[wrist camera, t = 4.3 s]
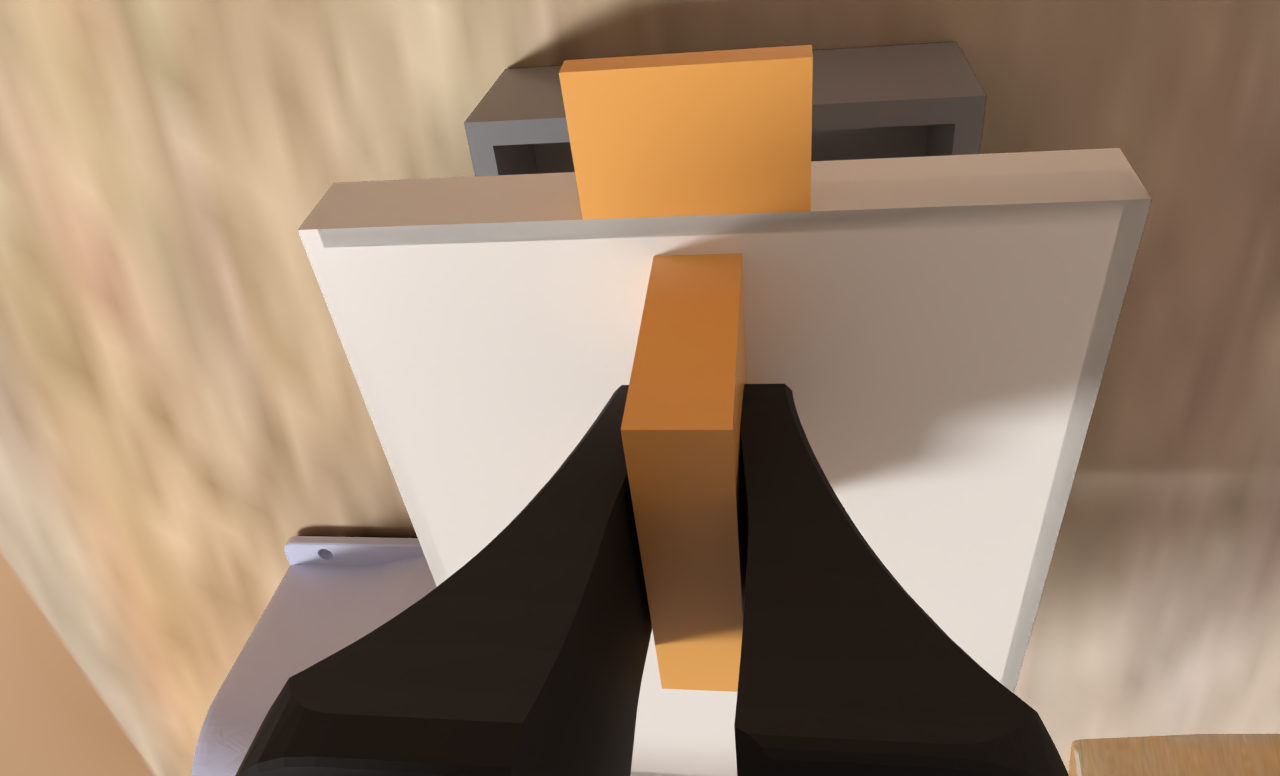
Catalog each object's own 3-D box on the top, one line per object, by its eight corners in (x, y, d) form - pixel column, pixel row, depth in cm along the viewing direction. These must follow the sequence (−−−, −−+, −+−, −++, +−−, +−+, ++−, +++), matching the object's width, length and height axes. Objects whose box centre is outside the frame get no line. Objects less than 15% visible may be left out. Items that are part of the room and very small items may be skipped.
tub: (583, 513, 29) (563, 597, 26) (505, 69, 21) (463, 122, 18) (907, 518, 28) (922, 608, 25) (956, 41, 20) (986, 95, 17)
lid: (520, 718, 24) (473, 925, 20) (288, 52, 13) (87, 235, 9) (974, 740, 22) (1014, 971, 18) (1157, -8, 11) (1351, 187, 7)
